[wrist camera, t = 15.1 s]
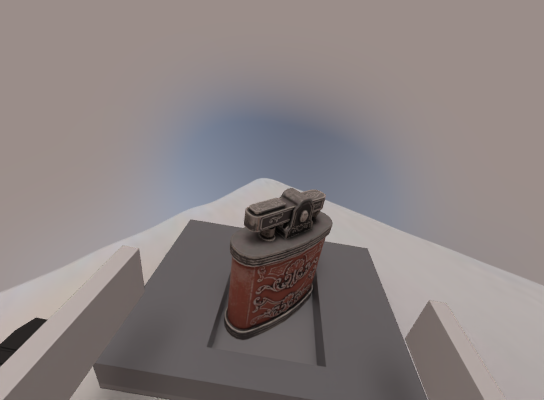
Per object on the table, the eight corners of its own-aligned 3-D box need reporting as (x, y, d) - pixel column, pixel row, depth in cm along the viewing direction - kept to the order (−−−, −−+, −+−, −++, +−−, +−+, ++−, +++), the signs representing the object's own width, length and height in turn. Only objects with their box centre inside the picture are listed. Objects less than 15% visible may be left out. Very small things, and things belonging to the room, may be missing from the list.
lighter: (292, 272, 24) (316, 174, 19) (319, 297, 22) (353, 193, 17) (215, 314, 19) (221, 195, 14) (240, 351, 17) (257, 226, 12)
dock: (359, 267, 26) (367, 248, 25) (416, 441, 14) (435, 420, 13) (190, 239, 27) (190, 219, 25) (100, 387, 14) (91, 362, 13)
